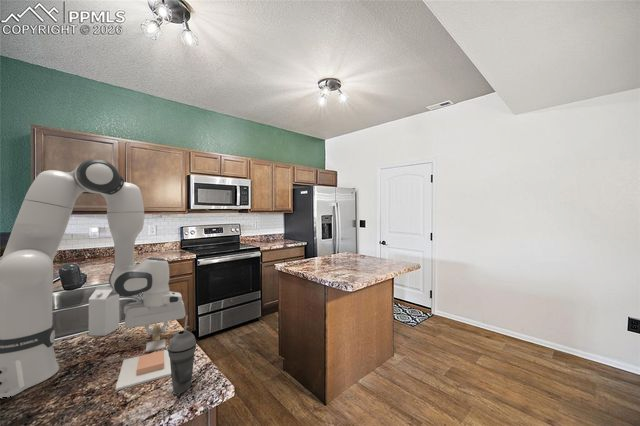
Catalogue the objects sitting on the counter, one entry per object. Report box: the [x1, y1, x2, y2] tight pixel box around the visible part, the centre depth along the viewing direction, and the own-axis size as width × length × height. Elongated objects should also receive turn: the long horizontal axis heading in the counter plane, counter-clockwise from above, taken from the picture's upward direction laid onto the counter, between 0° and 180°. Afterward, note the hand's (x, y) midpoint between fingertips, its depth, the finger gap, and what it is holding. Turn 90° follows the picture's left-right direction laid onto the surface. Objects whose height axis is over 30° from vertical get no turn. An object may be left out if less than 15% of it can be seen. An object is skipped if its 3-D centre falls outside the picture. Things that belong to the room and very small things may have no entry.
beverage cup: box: [167, 314, 197, 393], centre depth 73 cm, size 7×7×20 cm
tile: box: [137, 349, 165, 375], centre depth 83 cm, size 7×2×9 cm
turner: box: [145, 324, 166, 353], centre depth 101 cm, size 6×17×3 cm, turn 31°
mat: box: [114, 349, 171, 391], centre depth 83 cm, size 14×17×1 cm
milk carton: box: [88, 286, 120, 337], centre depth 109 cm, size 7×7×19 cm
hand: (156, 333), depth 102 cm, fingers open, 3 cm apart
